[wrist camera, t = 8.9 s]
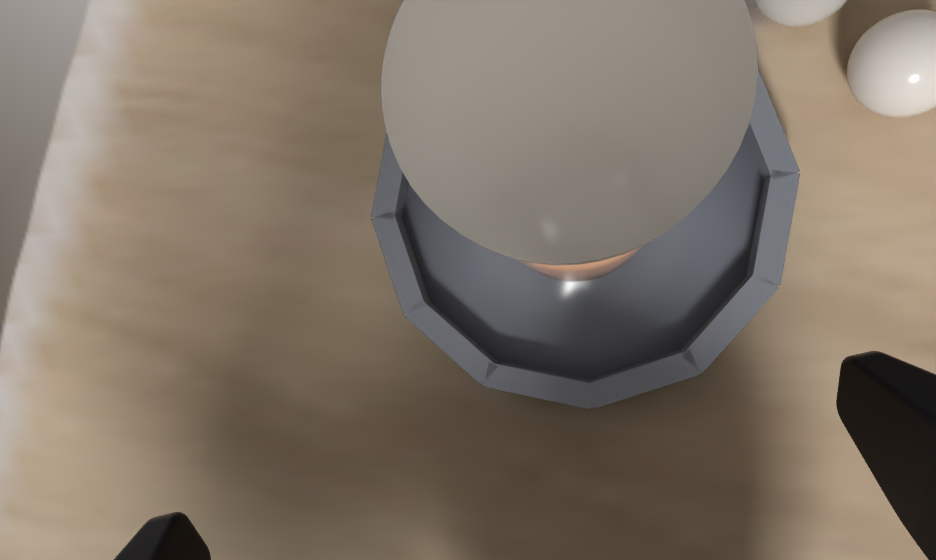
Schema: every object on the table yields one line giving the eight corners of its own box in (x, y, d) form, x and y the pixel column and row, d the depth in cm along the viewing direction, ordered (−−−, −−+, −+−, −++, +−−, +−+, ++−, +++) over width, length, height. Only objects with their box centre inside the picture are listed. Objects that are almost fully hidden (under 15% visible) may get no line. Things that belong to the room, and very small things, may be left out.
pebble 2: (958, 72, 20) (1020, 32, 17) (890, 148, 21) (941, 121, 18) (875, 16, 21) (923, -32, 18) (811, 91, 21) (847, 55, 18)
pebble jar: (699, 190, 21) (844, 36, 9) (584, 322, 21) (582, 339, 10) (564, 85, 22) (538, -176, 10) (456, 215, 22) (311, 110, 11)
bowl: (869, 172, 21) (890, 162, 19) (597, 477, 22) (598, 489, 20) (551, -58, 23) (549, -83, 21) (319, 230, 24) (302, 225, 22)
